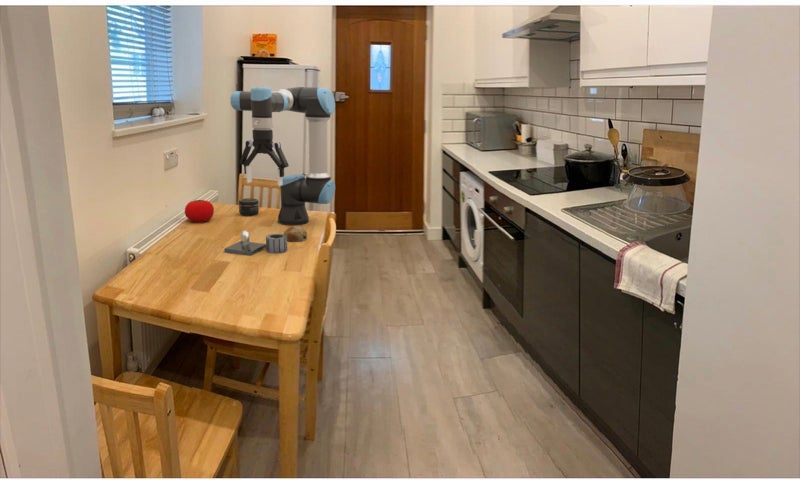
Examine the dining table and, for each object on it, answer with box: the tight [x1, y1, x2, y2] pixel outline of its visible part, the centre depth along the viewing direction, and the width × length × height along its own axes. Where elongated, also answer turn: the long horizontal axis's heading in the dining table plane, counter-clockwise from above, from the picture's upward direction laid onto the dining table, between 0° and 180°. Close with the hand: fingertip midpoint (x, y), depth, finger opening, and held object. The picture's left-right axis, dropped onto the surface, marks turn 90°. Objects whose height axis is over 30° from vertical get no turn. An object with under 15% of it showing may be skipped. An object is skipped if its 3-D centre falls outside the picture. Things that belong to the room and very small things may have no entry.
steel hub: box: [265, 233, 288, 254], centre depth 223 cm, size 8×8×6 cm
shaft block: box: [223, 229, 266, 256], centre depth 222 cm, size 12×12×8 cm
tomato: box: [184, 199, 215, 223], centre depth 265 cm, size 14×13×10 cm
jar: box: [238, 197, 260, 217], centre depth 281 cm, size 10×10×8 cm
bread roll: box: [283, 225, 308, 243], centre depth 240 cm, size 10×10×8 cm
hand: (264, 183), depth 214 cm, fingers open, 13 cm apart
